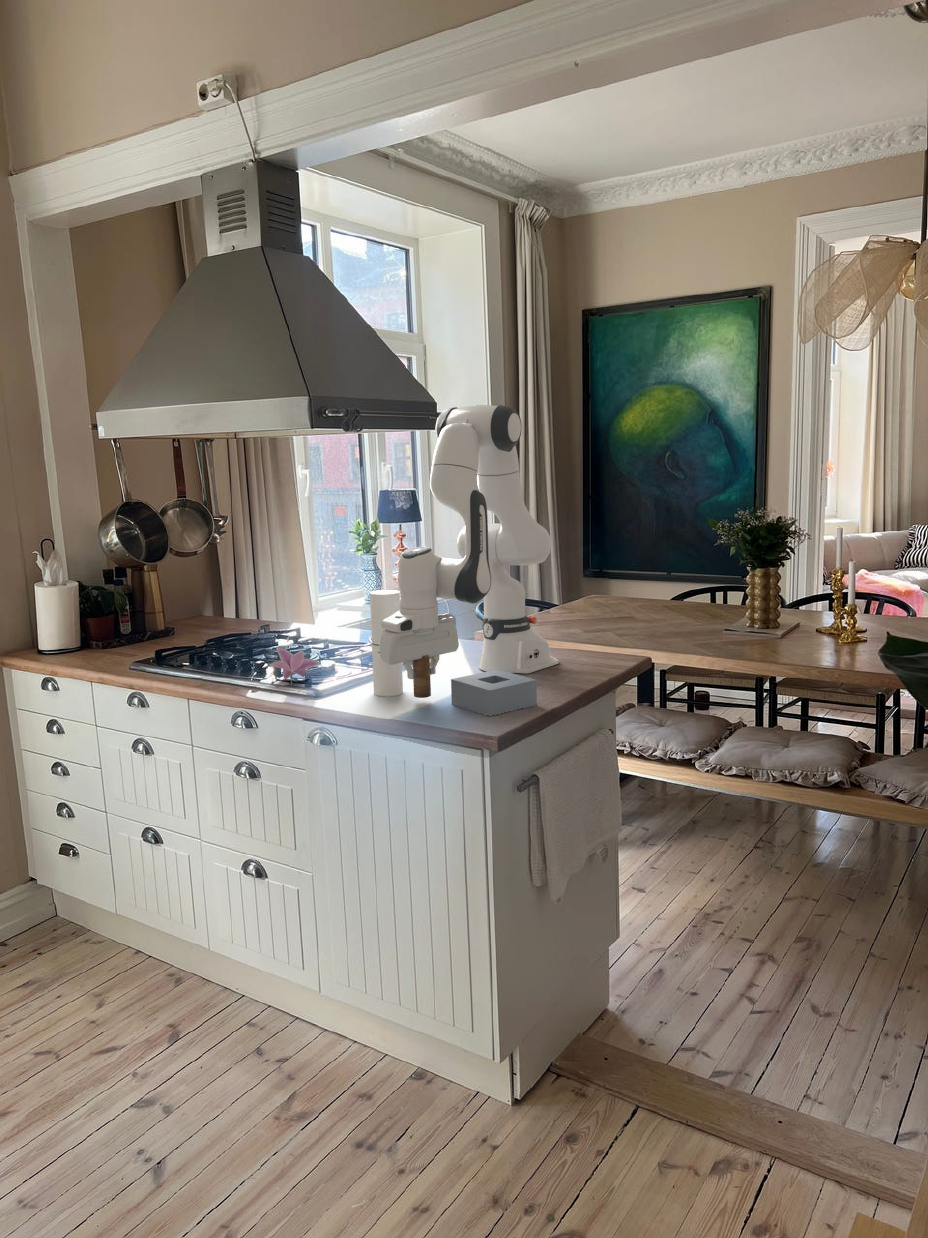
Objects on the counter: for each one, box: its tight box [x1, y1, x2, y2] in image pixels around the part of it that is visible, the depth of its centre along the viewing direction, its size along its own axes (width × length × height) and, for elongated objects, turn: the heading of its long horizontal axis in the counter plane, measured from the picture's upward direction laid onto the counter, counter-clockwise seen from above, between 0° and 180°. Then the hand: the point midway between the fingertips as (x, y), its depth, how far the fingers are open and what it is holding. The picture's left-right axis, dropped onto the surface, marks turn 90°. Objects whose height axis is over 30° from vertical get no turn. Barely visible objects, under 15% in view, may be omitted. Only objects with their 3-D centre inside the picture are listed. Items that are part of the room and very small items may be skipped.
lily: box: [269, 646, 322, 686], centre depth 239 cm, size 12×12×10 cm
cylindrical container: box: [369, 589, 404, 697], centre depth 226 cm, size 7×7×25 cm
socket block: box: [450, 670, 538, 717], centre depth 214 cm, size 14×14×6 cm
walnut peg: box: [412, 655, 432, 699], centre depth 216 cm, size 4×4×10 cm
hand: (421, 676), depth 216 cm, fingers closed on walnut peg, 4 cm apart
